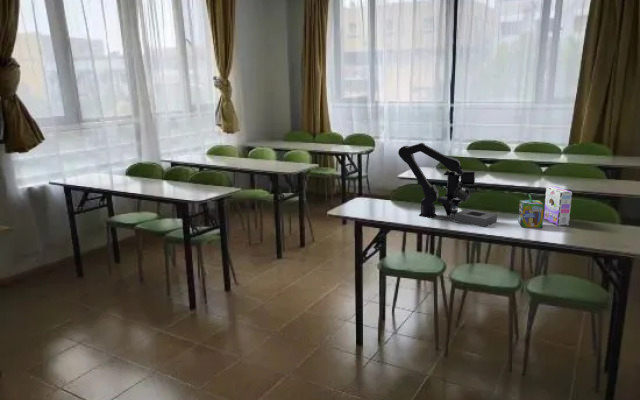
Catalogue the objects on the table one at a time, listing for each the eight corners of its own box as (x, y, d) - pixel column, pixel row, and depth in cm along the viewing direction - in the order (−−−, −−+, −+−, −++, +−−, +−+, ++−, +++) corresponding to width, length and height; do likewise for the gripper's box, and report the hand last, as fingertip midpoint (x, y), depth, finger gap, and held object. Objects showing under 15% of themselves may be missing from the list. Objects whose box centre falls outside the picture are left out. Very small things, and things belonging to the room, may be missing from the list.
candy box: (569, 225, 232) (573, 191, 228) (557, 226, 231) (560, 192, 228) (554, 218, 245) (557, 185, 241) (542, 218, 245) (545, 186, 241)
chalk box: (542, 228, 228) (545, 197, 225) (521, 227, 230) (524, 196, 226) (537, 223, 237) (540, 193, 234) (517, 222, 238) (519, 192, 235)
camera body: (454, 221, 242) (454, 213, 241) (466, 216, 250) (466, 209, 249) (485, 227, 231) (485, 219, 230) (496, 222, 239) (497, 214, 238)
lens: (443, 217, 249) (444, 206, 248) (449, 215, 253) (450, 204, 252) (453, 219, 246) (454, 207, 244) (459, 217, 249) (459, 205, 248)
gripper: (458, 189, 234) (456, 220, 237) (477, 183, 247) (475, 213, 250) (437, 186, 241) (436, 216, 245) (456, 180, 254) (455, 210, 258)
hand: (451, 214), depth 249 cm, fingers closed on lens, 6 cm apart
